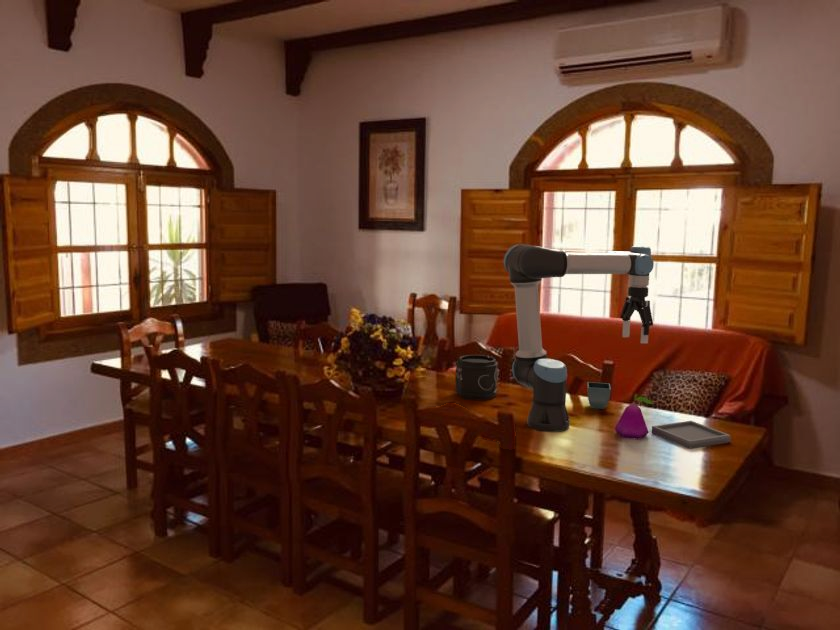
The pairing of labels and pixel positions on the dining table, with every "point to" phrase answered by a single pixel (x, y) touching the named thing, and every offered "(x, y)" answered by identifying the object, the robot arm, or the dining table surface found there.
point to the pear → (633, 421)
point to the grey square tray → (691, 434)
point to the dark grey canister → (476, 377)
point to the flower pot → (598, 394)
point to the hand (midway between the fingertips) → (634, 340)
